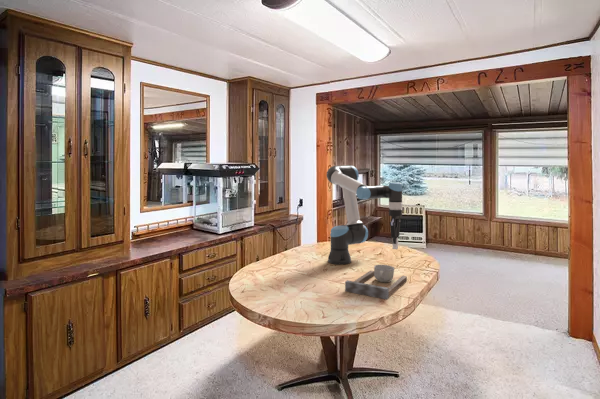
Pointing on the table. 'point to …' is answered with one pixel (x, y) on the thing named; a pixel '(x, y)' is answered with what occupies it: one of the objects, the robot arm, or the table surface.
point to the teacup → (383, 273)
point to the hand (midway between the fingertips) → (395, 248)
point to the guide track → (373, 286)
